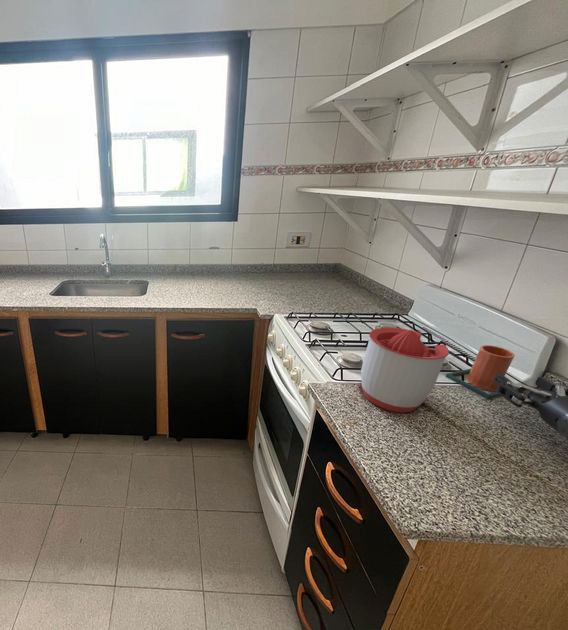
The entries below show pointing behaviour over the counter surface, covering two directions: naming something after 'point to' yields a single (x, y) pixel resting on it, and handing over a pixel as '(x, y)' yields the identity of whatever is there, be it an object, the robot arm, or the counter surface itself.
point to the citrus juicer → (399, 369)
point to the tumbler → (489, 366)
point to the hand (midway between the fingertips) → (517, 378)
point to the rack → (470, 387)
